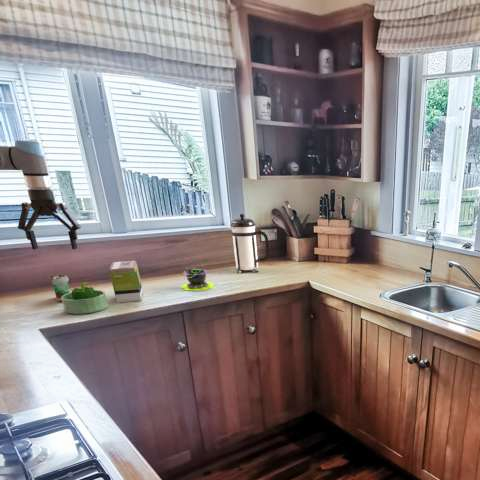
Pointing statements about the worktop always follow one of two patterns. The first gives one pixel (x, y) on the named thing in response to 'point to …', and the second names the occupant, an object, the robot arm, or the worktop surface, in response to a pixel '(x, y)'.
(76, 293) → the bell pepper
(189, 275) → the toy cauldron
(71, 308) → the bowl
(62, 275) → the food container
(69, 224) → the robot arm
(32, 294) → the worktop surface
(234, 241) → the coffee press
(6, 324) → the worktop surface
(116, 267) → the tea box
